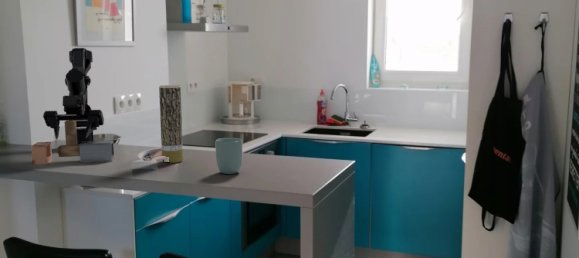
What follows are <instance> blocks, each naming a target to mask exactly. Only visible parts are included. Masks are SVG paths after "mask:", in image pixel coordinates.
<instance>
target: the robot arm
mask: <svg viewBox="0 0 579 258" xmlns="http://www.w3.org/2000/svg"><path fill="white" fill-rule="evenodd" d="M68 58H69V59H68V61H69V63H70V64H71V69H69V70H68V72H67V73H66V74H65V78H64V83H65V86H66V87H67V90H68V95H63V96H62V106H63V111H64V113H63V114H59V113H58V111H57V110H45V111H44V112H43V115H42V118H43V120H44V122H45V125H46V126H47V127H49V128H50V129H53V131H54V132H53V133H54V136H55V139H56V140H58V138H59V135H60V130H61V129H60V128H61V127H60V124H61V121H62V122H63V121H64V122H65V121H73V120H76V127H77V143H78V145H79V144H80V143H81V142H83V141H95V140H94V131H97V130H98V128H99V127H100V126H103V125H104V123H105V117H104V114H103V111H102V110H101V109H92V107H91V106H90V105H89V100H88V99H89V97H88V96H89V95H88V93H89V92H88V86H90V85H91V83H92V80H91V78H90V76H89V75H88V73H89V71H90V70H91V69H92V63H93V61H94V58H93V51H91V50H88V49H87V48H85V47H74V48H72V49H71V50H69V51H68Z"/></svg>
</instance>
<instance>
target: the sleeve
mask: <svg viewBox="0 0 579 258" xmlns="http://www.w3.org/2000/svg"><path fill="white" fill-rule="evenodd" d="M79 146H80V156H79V158H80V163H105V162H109V163H110V162H113V161H114V159H115V147H114V146H115V144H114V140H94V141H83V142H81V143H80V144H79Z"/></svg>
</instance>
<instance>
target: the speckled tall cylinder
mask: <svg viewBox="0 0 579 258" xmlns="http://www.w3.org/2000/svg"><path fill="white" fill-rule="evenodd" d="M181 87H182V86H181V85H179V84H165V85H164V84H163V85H158V88H159V89H158V90H159V91H158V93H159V116H160V138H161V139H160V140H161V141H160V142H161V157H162V156H166V157H169V162H170V163H169V164H177V163H181V162H183V160H184V148H183V147H184V144H183V142H184V140H183V119H182V91H181V90H182V89H181Z"/></svg>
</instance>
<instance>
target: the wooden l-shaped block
mask: <svg viewBox="0 0 579 258" xmlns="http://www.w3.org/2000/svg"><path fill="white" fill-rule="evenodd" d="M77 128H78V127H76V120H73V121H69V120H68V121H64V135H65V136H64V137H65V144H60V145H58V147H57V150H58V151H57V152H58V153H57V154H58V158H68V157H69V158H72V157H73V158H74V157H75V158H76V157H80V146H79V145H78V143H77Z"/></svg>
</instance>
